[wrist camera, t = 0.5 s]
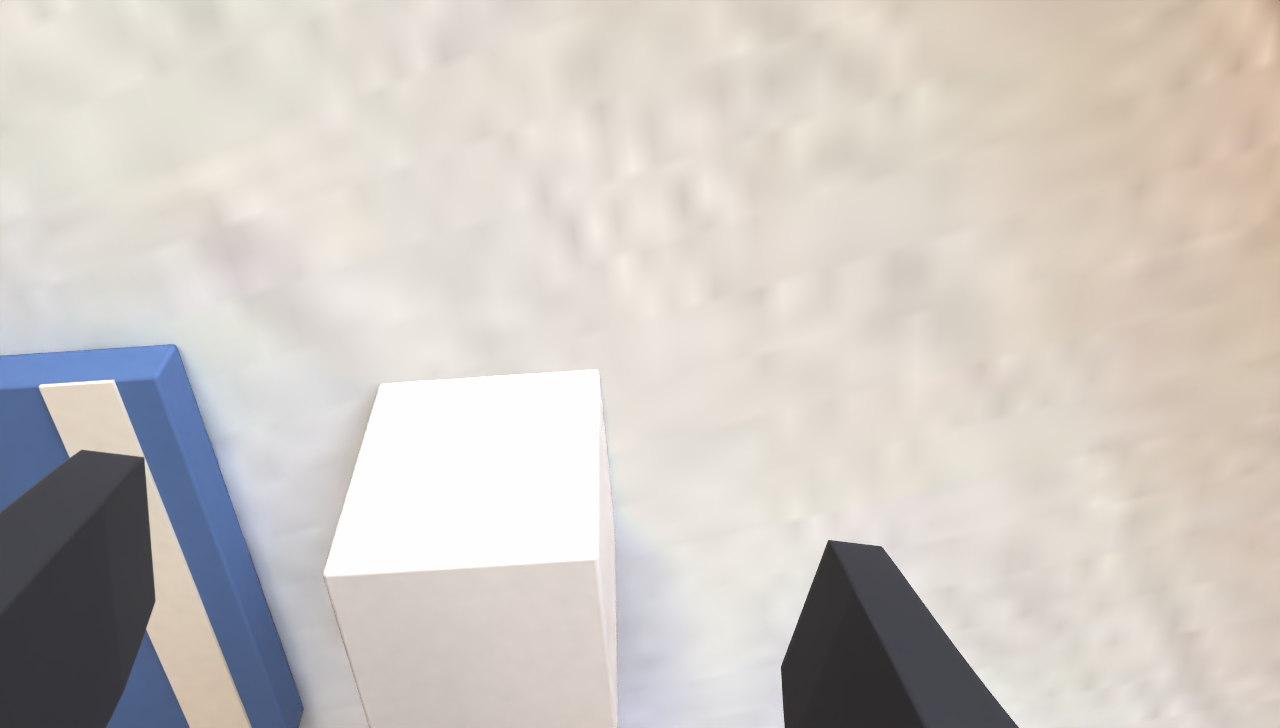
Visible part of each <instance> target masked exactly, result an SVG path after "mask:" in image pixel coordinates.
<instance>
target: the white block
mask: <svg viewBox="0 0 1280 728" xmlns="http://www.w3.org/2000/svg"><path fill="white" fill-rule="evenodd" d="M323 577H324V580H325V584H326V587H327V590H328V593H329V597H330V600H331V603H332V607H333V610H334V613H335V616H336V620H337V623H338V626H339V630H340V633H341V636H342V639H343V643H344V646H345V649H346V653H347V656H348V659H349V662H350V666H351V669H352V672H353V676H354V679H355V682H356V685H357V689H358V692H359V695H360V699H361V702H362V705H363V708H364V712H365V715H366V718H367V722H368V725H369V728H618V695H617V629H616V562H615V527H614V516H613V506H612V496H611V485H610V475H609V465H608V455H607V444H606V434H605V424H604V413H603V403H602V393H601V383H600V373H599V371H598V370H596V369H592V370H577V371H562V372H547V373H532V374H517V375H502V376H487V377H471V378H456V379H441V380H426V381H411V382H396V383H383V384H380V385H379V388H378V391H377V395H376V398H375V401H374V405H373V408H372V412H371V415H370V418H369V422H368V425H367V428H366V432H365V435H364V438H363V442H362V445H361V448H360V452H359V455H358V458H357V462H356V465H355V468H354V472H353V475H352V478H351V482H350V485H349V488H348V492H347V495H346V499H345V502H344V505H343V509H342V512H341V515H340V519H339V522H338V525H337V529H336V532H335V535H334V539H333V542H332V545H331V549H330V552H329V555H328V559H327V562H326V565H325V569H324V572H323Z"/></svg>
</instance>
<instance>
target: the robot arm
mask: <svg viewBox="0 0 1280 728" xmlns="http://www.w3.org/2000/svg"><path fill="white" fill-rule="evenodd" d="M155 601H156V599H155V587H154V574H153V561H152V549H151V536H150V523H149V511H148V498H147V485H146V473H145V460H144V457H138V456H130V455H122V454H114V453H105V452H97V451H89V450H80V451H79V452H78V453H76V454H75V455H73V456H72V457H70V458H69V459H68V460H66V461H65V462H64V463H62V464H61V465H60V466H59V467H57V468H56V469H55V470H53V471H52V472H51V473H49V474H48V475H47V476H46V477H44V478H43V479H42V480H40V481H39V482H38V483H37V484H35V485H34V486H33V487H31V488H30V489H29V490H28V491H26V492H25V493H24V494H23V495H21V496H20V497H19V498H17V499H16V500H15V501H14V502H12V503H11V504H10V505H9V506H7V507H6V508H5V509H3V510H2V511H1V512H0V728H106V727H107V725H108V723H109V721H110V719H111V717H112V715H113V713H114V710H115V708H116V706H117V704H118V702H119V700H120V698H121V696H122V694H123V692H124V689H125V686H126V684H127V681H128V678H129V676H130V673H131V670H132V667H133V665H134V662H135V659H136V657H137V654H138V651H139V648H140V645H141V642H142V639H143V636H144V634H145V631H146V628H147V625H148V622H149V619H150V616H151V613H152V610H153V607H154V604H155ZM781 675H782V692H783V709H784V722H785V728H1019V727H1018V726H1017V725H1016V724H1015V722H1014V721H1013V720H1012V719H1011V718H1010V716H1009V715H1008V714H1007V713H1006V712H1005V710H1004V709H1003V708H1002V707H1001V705H1000V704H999V703H998V701H997V700H996V699H995V698H994V696H993V695H992V694H991V693H990V691H989V690H988V689H987V688H986V686H985V685H984V684H983V682H982V681H981V680H980V678H979V677H978V676H977V675H976V673H975V672H974V671H973V669H972V668H971V667H970V666H969V664H968V663H967V662H966V660H965V659H964V658H963V656H962V655H961V654H960V652H959V651H958V650H957V648H956V647H955V646H954V644H953V643H952V642H951V640H950V639H949V638H948V636H947V635H946V633H945V632H944V631H943V629H942V628H941V627H940V625H939V624H938V623H937V621H936V620H935V619H934V617H933V616H932V614H931V613H930V612H929V610H928V609H927V608H926V606H925V605H924V603H923V602H922V601H921V599H920V598H919V597H918V595H917V594H916V592H915V591H914V590H913V588H912V587H911V586H910V584H909V583H908V581H907V580H906V579H905V577H904V576H903V574H902V573H901V572H900V570H899V569H898V568H897V566H896V565H895V564H894V562H893V561H892V560H891V558H890V557H889V556H888V554H887V553H886V552H885V550H884V549H883V548H882V547H881V546H873V545H865V544H856V543H848V542H840V541H832V540H828V542H827V545H826V548H825V550H824V553H823V556H822V559H821V561H820V564H819V567H818V569H817V572H816V575H815V577H814V580H813V583H812V585H811V588H810V591H809V593H808V596H807V599H806V601H805V604H804V607H803V609H802V612H801V615H800V617H799V620H798V623H797V625H796V628H795V631H794V633H793V636H792V639H791V641H790V644H789V647H788V650H787V652H786V655H785V658H784V660H783V663H782V666H781Z"/></svg>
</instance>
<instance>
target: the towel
mask: <svg viewBox="0 0 1280 728" xmlns="http://www.w3.org/2000/svg"><path fill="white" fill-rule="evenodd" d="M80 450H89V451H97V452H105V453H114V454H122V455H130V456H138V457H144V460H145V473H146V485H147V498H148V511H149V523H150V536H151V549H152V561H153V574H154V587H155V599H156V601H155V604H154V607H153V610H152V613H151V616H150V619H149V622H148V625H147V628H146V631H145V634H144V636H143V639H142V642H141V645H140V648H139V651H138V654H137V657H136V659H135V662H134V665H133V667H132V670H131V673H130V676H129V678H128V681H127V684H126V686H125V689H124V692H123V694H122V696H121V698H120V700H119V702H118V704H117V706H116V708H115V710H114V713H113V715H112V717H111V719H110V721H109V723H108V725H107V727H106V728H298V727H299V723H300V720H301V716H302V712H303V706H302V703H301V700H300V697H299V694H298V692H297V689H296V686H295V683H294V680H293V677H292V674H291V672H290V669H289V666H288V663H287V660H286V657H285V654H284V652H283V649H282V646H281V643H280V640H279V637H278V634H277V632H276V629H275V626H274V623H273V620H272V617H271V615H270V612H269V609H268V606H267V603H266V600H265V597H264V595H263V592H262V589H261V586H260V583H259V580H258V577H257V575H256V572H255V569H254V566H253V563H252V560H251V557H250V555H249V552H248V549H247V546H246V543H245V540H244V538H243V535H242V532H241V529H240V526H239V523H238V520H237V518H236V515H235V512H234V509H233V506H232V503H231V500H230V498H229V495H228V492H227V489H226V486H225V483H224V480H223V478H222V475H221V472H220V469H219V466H218V463H217V461H216V458H215V455H214V452H213V449H212V446H211V443H210V441H209V438H208V435H207V432H206V429H205V426H204V423H203V421H202V418H201V415H200V412H199V409H198V406H197V403H196V401H195V398H194V395H193V392H192V389H191V386H190V383H189V381H188V378H187V375H186V372H185V369H184V366H183V364H182V361H181V358H180V355H179V352H178V349H177V347H176V346H175V345H159V346H144V347H129V348H114V349H99V350H84V351H69V352H54V353H39V354H24V355H9V356H0V512H1V511H2V510H3V509H5V508H6V507H7V506H9V505H10V504H11V503H12V502H14V501H15V500H16V499H17V498H19V497H20V496H21V495H23V494H24V493H25V492H26V491H28V490H29V489H30V488H31V487H33V486H34V485H35V484H37V483H38V482H39V481H40V480H42V479H43V478H44V477H46V476H47V475H48V474H49V473H51V472H52V471H53V470H55V469H56V468H57V467H59V466H60V465H61V464H62V463H64V462H65V461H66V460H68V459H69V458H70V457H72V456H73V455H75V454H76V453H78V452H79V451H80Z"/></svg>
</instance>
